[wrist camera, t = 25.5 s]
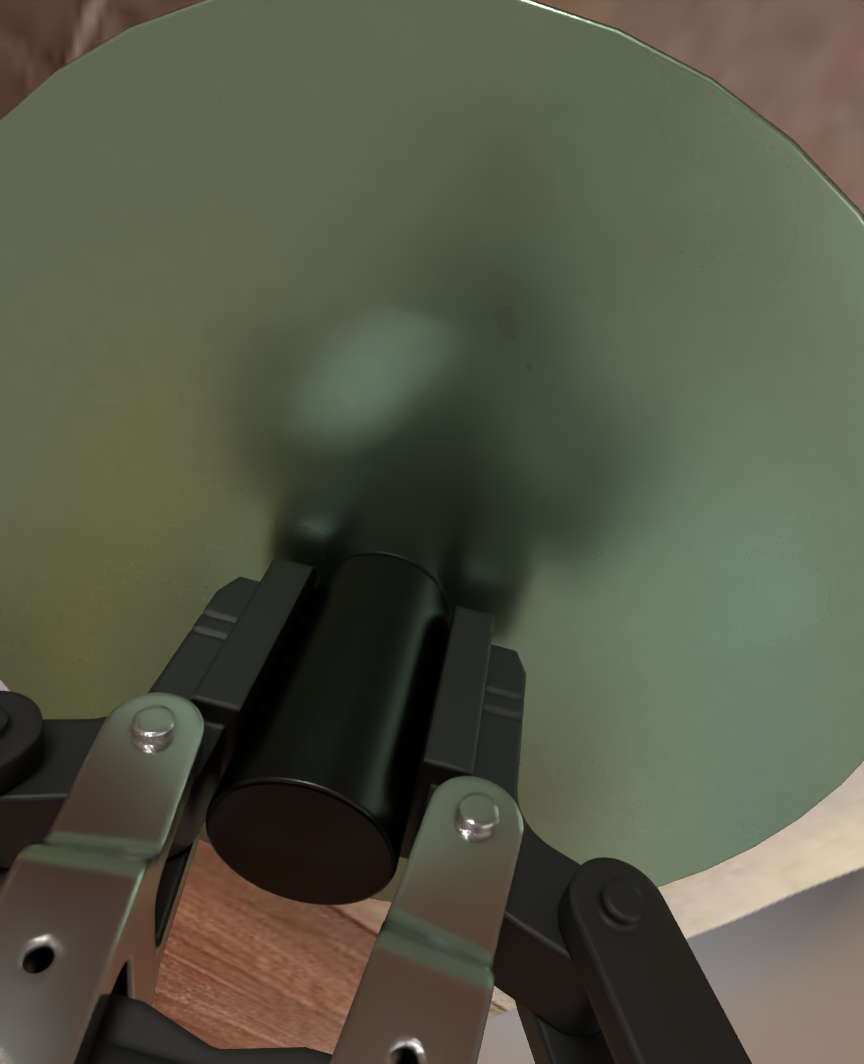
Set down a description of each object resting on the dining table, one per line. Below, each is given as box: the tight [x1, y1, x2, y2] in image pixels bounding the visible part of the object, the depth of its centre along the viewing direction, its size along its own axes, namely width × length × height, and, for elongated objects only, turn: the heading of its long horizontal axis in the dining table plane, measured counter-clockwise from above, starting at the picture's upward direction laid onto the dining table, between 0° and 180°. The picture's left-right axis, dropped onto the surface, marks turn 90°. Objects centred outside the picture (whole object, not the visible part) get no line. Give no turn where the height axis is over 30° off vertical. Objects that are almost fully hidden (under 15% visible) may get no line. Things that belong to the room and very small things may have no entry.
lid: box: [0, 0, 864, 905], centre depth 12 cm, size 19×19×6 cm
